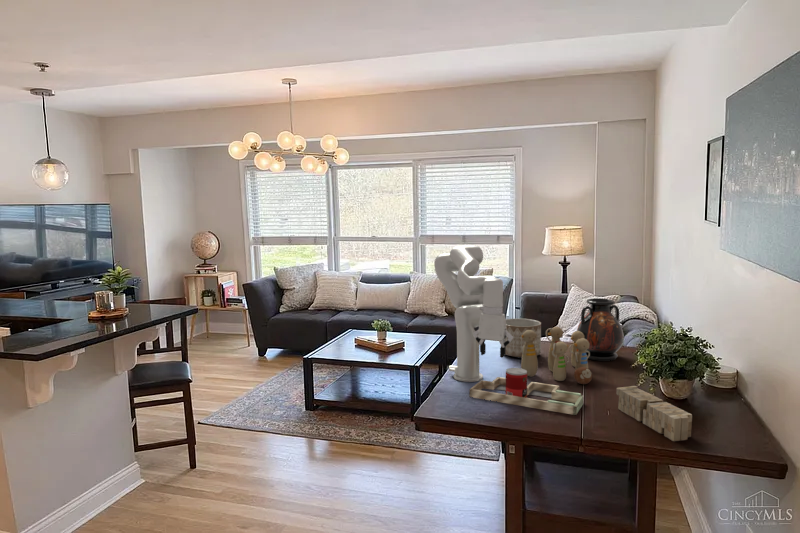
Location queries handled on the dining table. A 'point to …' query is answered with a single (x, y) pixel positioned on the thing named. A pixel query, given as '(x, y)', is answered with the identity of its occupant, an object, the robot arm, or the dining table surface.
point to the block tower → (655, 413)
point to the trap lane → (532, 389)
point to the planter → (516, 330)
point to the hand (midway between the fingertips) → (492, 355)
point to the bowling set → (558, 355)
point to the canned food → (516, 382)
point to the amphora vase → (601, 329)
